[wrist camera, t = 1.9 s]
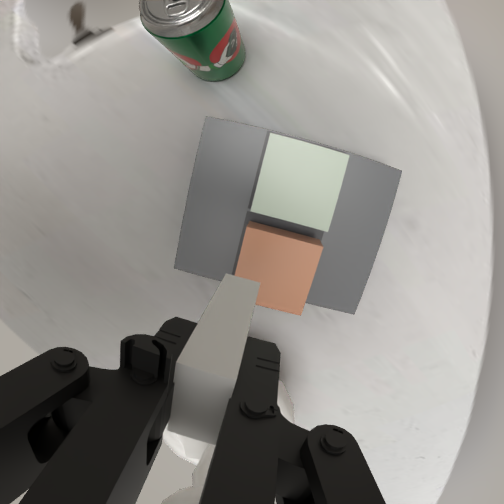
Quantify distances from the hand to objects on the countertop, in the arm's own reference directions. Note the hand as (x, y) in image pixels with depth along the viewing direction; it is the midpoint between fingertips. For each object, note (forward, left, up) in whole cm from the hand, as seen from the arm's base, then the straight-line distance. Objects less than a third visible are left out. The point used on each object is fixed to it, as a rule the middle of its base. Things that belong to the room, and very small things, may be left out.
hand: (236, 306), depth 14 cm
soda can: (-7, +14, -15) cm, 22 cm away
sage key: (+2, +5, -9) cm, 11 cm away
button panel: (+2, +2, -15) cm, 15 cm away
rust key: (+2, -1, -9) cm, 9 cm away
